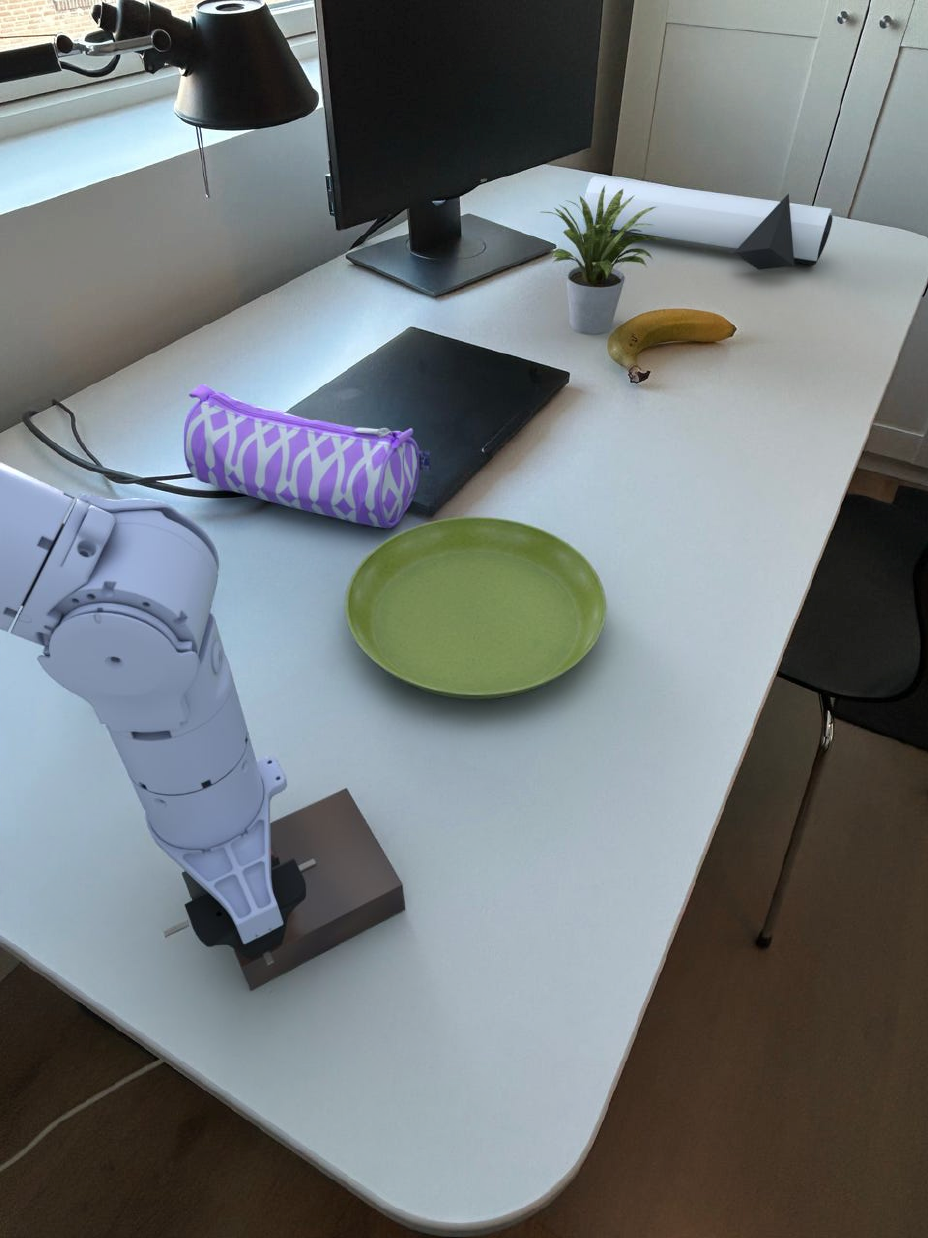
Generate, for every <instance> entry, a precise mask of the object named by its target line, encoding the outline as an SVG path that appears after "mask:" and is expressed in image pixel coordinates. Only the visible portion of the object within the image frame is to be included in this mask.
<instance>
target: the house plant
mask: <svg viewBox="0 0 928 1238" xmlns="http://www.w3.org/2000/svg"><path fill="white" fill-rule="evenodd" d="M604 193H605V186H604V187H603V189H602V192H601V194H600V198H599V202H598V208H597V215H596V221H595V225H594V224H593V217H592V214H591V212H590V209H589V207H588V205H587V203H586V202H585V201H584V198H583V197H582V196H580V195H579V202H580V205H581V206H582V207H580V206H579V205H578V204H577V203H575V202H573V201H570V200H566V199H565V201H566V202H568V203H571V204H573V205H575V206H576V207H577V208H578V209H579V210H580V211H581V213H582V217H583V216H584V219H585V223H586V225H585V230H586V232H584V233H581V230H580V227H579V225H578V223H577V221H576V220H575V218H574V217H573V216H572V214H571V213H570V211H569V210H568V208H566V206H563V205H561V204H559V206H560V207H561V208H562V209H563V210H565V212H566V213H567V215H568V216H569V217H568V216H567V215H566V214H565V213H564V212H563V211H562V210H560V209H557V208H556V207H554V210H555V211H556V213H555V212H551V211H541V213H545V214H553V215H555V216H558V217H559V218H560V219H561V220H562V221H563V222H564V223H565V224H566V225H567V227H568V229H565V230H564V231H563V232H562V233H563V234H564V235H565V237H567V238H568V239H569V240H570V241H571V242H572V243H573V244H574V245H575V247H576V248H577V250H578V252H579V254H580V256H581V259H582V261H583V263H584V265H583V264H582V263H581V261H580V260H579V259H578V258H577V257H575V256H574V255H573V254H572V253H571V252H569V251H568V250H566V249H563V248H557V249H555V250H554V251H553V253H552V255H551V256H550V257H549V259H552V258H555V259H554V260H553V261H552V263H555V262H556V263H557V262H561V261H575V262H577V265H578V266H576V267H574V268H571V269H569V270H568V271H567V274H566V286H567V299H568V310H569V322H570V327H571V328H572V330H574V331H576V332H578V333H581V334H584V335H601V334H604V333H607V332H609V331H610V330H611V329H612V327H613V322H614V319H615V315H616V311H617V308H618V305H619V302H620V297H621V294H622V290H623V287H624V283H625V279H626V277H625V275H624V273H623V272H622V271H621V270H619V269H617V267H616V268H615V267H614V266H615V265H616V264H618V263H620V264H619V265H618V267H620V266H621V265H622V264H623V263H638V264H639V263H640V264H641V265H644V266H645V267H646V268H648V266H647V265H646V263H645V261H644V259H643V258H642V257H640V256H638V255H645V256H647V257H649V258H650V259H651V260H652V261H654V259H653V257H652V255H651V254H650V252H648V251H647V250H646V249H644V248H639V247H638V248H637V247H636V248H630V249H626V248H627V247H628V246H630V245H632V244H634V243H637V242H641V241H650V240H657V241H666V238H661V237H653V236H645V235H636V234H632V235H628V236H625V235H626V234H627V233H628V232H631V231H637V232H642V231H640V230H637V229H632V230H629V231H627V230H628V229H629V228H630V227H632V226H637V225H651V224H643V223H641V224H634V223H635V222H636V221H637V220H638V219H639V218H640V217H641V216H642V215H643V214H645V213H646V212H648V211H650V210H652V209H654V208H656V207H651V208H648V209H645V210H643V211H641V212H640V213H638V214H637V215H635V216H634V217H633V218H632V219H631V220H630V221H629V222H627V223H626V224H625V225H624V226H623V227H622V228H621V230H620V231H619V232H611V230H612V227H613V225H614V222H615V220H616V218H617V216H618V215H619V213H620V212H621V211H622V209H623V208H624V207H625V206H626V205H627V204H628V203H629V202H630V201H631V199H632V198H633V197H634V196H635V195H634V196H632V197H631V198H630V199H628V200H627V201H626V202H624V203H623V204H622V205H621V206H620V199H621V197H622V195H623V189H622V190H620V191H619V192H618V193H617V194H616V195H615V196H614V197H613V199H612V200H611V202H610V204H609V206H608V208H607V210H606V212H605V214H604V216H603V213H604V208H603V199H604ZM581 208H582V209H581ZM569 218H570V219H571V220H570V219H569ZM585 223H584V224H585ZM633 224H634V225H633ZM626 231H627V232H626ZM625 232H626V233H625ZM623 236H625V237H623ZM625 249H626V250H625ZM631 253H635V254H633V255H629V256H625V255H626V254H631ZM623 256H624V257H623Z"/></svg>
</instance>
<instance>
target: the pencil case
mask: <svg viewBox="0 0 928 1238" xmlns="http://www.w3.org/2000/svg"><path fill="white" fill-rule="evenodd" d="M188 396H189V398H192V399H194V398H197V399H199V401H198V402H197V403H195V404H194V405H193V406H192V407H191V409H190V410H189V412H188V413H187V416H186V419H185V422H184V429H183V455H184V460H185V463H186V466H187V468H188V471H189V473H190V474H191V476H192V477H194V479H196V480H197V481H199V482H201V483H204V484H209V485H212V486H214V487H216V488H217V489H220V490H224V491H229V492H232V493H238V494H241V495H246V496H249V497H253V498H256V499H260V500H263V501H267V502H270V503H275V504H279V505H281V506H286V507H289V508H293V509H296V510H300V511H306V512H309V513H312V514H319V515H323V516H327V517H330V518H334V519H338V520H344V521H348V522H351V523H355V524H360V525H367V526H371V527H376V528H383V529H390V528H393V527H394V526H396V525H398V524H399V522H400V521H401V518H402V517H403V515H404V513H405V512H407V510H408V508H409V507H410V505H411V503H412V502H413V499H414V497H415V495H414V496H413V497H412V498H409V497H410V495H411V493H412V494H413V493H415V494H416V491H417V487H418V482H419V477H420V470H421V471H423V472H430V471H431V469H432V468H431V465H432V464H431V452H430V451H429V450H423V449H421V450H420V449H419V446H418V444H417V442H416V440H415V439H414V438H413V437H412V436H413V433H414V430H413V428H412V427H410V428H409V429H407V430H405V431H404V432H403V431H400V430H391V429H389V428H387V427H381V428H371V427H355V426H351V425H343V424H337V423H335V422H334V423H333V422H328V421H325V420H324V421H323V420H318V419H308V418H306V417H301V416H297V415H294V414H291V413H288V412H283V411H280V410H276V409H273V408H266V407H262V406H258V405H255V404H251V403H248V402H244V401H243V400H241V399H238V398H236V397H233V396H230V395H229V394H226V393H224V392H222V391H217V392H216V391H215V390H214V389H212V388H211V387H209V386H208V385H206V384H205V383H200V384H199V385H198V386H197V387H195V388H194V389H193V390H192V391H191V392H190V393H189V394H188ZM408 498H409V499H408Z"/></svg>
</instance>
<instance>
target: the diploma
mask: <svg viewBox="0 0 928 1238" xmlns="http://www.w3.org/2000/svg"><path fill="white" fill-rule="evenodd" d="M604 186H605V193H604V199H603V208H604V213H603V216H604V214H605V212H606V210H607V208H608V206H609V204H610V202H611V200H612V199H613V197H614V196H615V195H616V194H617V193H618V192H619V191H620V190H622V189H623V195H622V197H621V199H620V206H621V205H622V204H623V203H624V202H626V201H627V200H628V199H630V198H631V197H632V196H634V195H635V196H634V197H633V198H632V199H631V201H630V202H629V203H628V204H627V205H626V206H625V207H624V208H623V209H622V211H621V212H620V213H619V215H618V216H617V218H616V220H615V222H614V225H613V227H612V230H611V233H615V232H619V231H620V230H621V228H622V227H623V226H624V225H625V224H626V223H627V222H629V221H630V220H631V219H632V218H633V217H634V216H635V215H637V214H638V213H640V212H641V211H643V210H645V209H648V208H651V207H656V208H654V209H652V210H650V211H648V212H646V213H645V214H643V215H642V216H641V217H640V218H639V219H638V220H637V221H636V222H635V223H634V224H641V223H643V224H651V225H637V226H632V227H630V228H629V229H628V230H627V231H629V230H632V229H637V230H640V231H642V232H637V231H631V232H628V233H626V232H627V231H626V232H625V233H626V234H631V235H645V236H652V237H656V238H660V239H670V240H678V241H684V242H690V243H697V244H701V245H702V244H703V245H710V246H715V247H721V248H727V249H732V250H735V251H733V254H735V255H736V256H738V257H739V258H740V259H742V260H743V261H745V262H746V263H748V264H749V265H751V266H752V267H753V268H754V269H757V270H758V271H759V270H769V269H777V268H779V269H781V268H788V267H795V263H798V264H803V265H807V266H812V267H814V266H815V265H816V264H817V262H818V261H819V259H820V257H821V256H822V254H823V251H824V249H825V247H826V244H827V242H828V239H829V236H830V232H831V229H832V224H833V219H834V218H833V214H832V211H833V208H829V207H821V206H816V205H815V206H814V205H807V204H801V203H800V204H799V203H792V202H790V194H789V192H788V193H787V195H785V196H784V197H783V199H782V200H781V201H779V200H773V199H772V200H771V199H763V198H758V197H757V198H756V197H749V196H741V195H737V194H736V195H735V194H727V193H721V192H713V191H705V190H698V189H692V188H686V187H685V188H684V187H676V186H669V185H662V184H655V183H649V182H641V181H633V180H627V179H626V180H625V179H618V178H613V177H605V176H604V177H603V176H599V175H598V176H597V175H593V176H592V177H591V178H590V180H589V182H588V183H587V187H586V191H585V194H584V195H585V196H584V198H583V200H584V201H585V202H586V203H587V205H588V207H589V209H590V212H591V214H592V217H593V224H594V225H595V221H596V215H597V208H598V202H599V198H600V194H601V192H602V189H603V187H604ZM582 220H583V224H584V225H585V226H586V223H585V219H584V216H583V215H582ZM634 224H633V225H634ZM625 233H624V234H625Z"/></svg>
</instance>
